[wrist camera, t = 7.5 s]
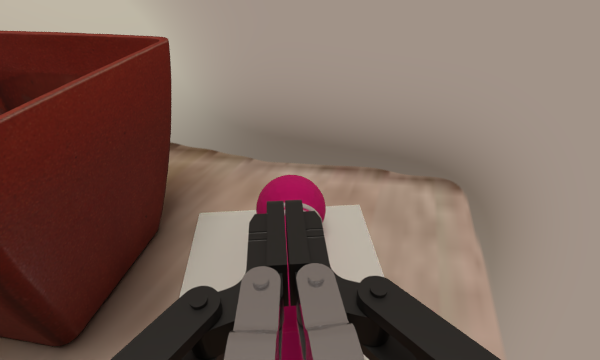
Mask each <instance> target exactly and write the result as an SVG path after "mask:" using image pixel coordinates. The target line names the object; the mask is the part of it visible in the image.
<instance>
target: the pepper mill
mask: <svg viewBox="0 0 600 360" xmlns="http://www.w3.org/2000/svg"><path fill="white" fill-rule="evenodd" d="M285 200H302V204H303V211H315V212H316V213H317V214H318V216H319V217H320V218H321V221H322V226H323V221H324V218H325V213H326V206H325V201H324V198H323V195H322V193H321V191H320V190H319V189H318V187H317V186H316V185H315V184H314V183H313V182H311V181H310V180H308V179H306V178H304V177H302V176H298V175H285V176H281V177H278V178H276V179H274V180H272V181H271V182H270V183H268V184H267V185H266V186H265V187H264V189H263V190H262V191H261V193H260V195H259V198H258V202H257V209H256V213H257V214H265V213H267V201H284V216H285ZM323 231H324V229H323ZM285 233H286V217H285ZM286 249H287V241H286ZM287 266H288V257H287ZM288 296H289V306H285V307H284V323H283V339H282V360H302V354H301V347H300V341H299V335H298V329H297V312H296V306H291V304H290V289H289V273H288Z"/></svg>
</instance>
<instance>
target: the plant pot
mask: <svg viewBox="0 0 600 360" xmlns="http://www.w3.org/2000/svg"><path fill="white" fill-rule="evenodd" d="M170 135H171V66H170V51H169V41H168V39H167V38H165V37H153V36H134V35H113V34H86V33H61V32H26V31H0V336H2V337H7V338H12V339H18V340H23V341H29V342H35V343H40V344H45V345H50V346H61V345H64V344H68V343H69V342H71V341H72V340H74V339H75V338H76V337H77V336H78V335H79V334H80V332H81V331H82V330H83V329H84V327H85V326H86V325H87V323H88V322H89V321H90V319H91V318H92V317H93V315H94V314H95V313H96V311H97V310H98V309H99V308H100V306H101V305H102V304H103V302H104V301H105V300H106V298H107V297H108V296H109V294H110V293H111V292H112V290H113V289H114V288H115V286H116V285H117V284H118V282H119V281H120V280H121V279H122V277H123V276H124V275H125V273H126V272H127V271H128V269H129V268H130V266H131V265H132V264H133V263H134V261H135V260H136V259H137V257H138V256H139V254H140V253H141V252H142V251H143V249H144V248H145V247H146V245H147V244H148V243H149V241H150V240H151V239H152V237H153V236H154V235H155V233H156V232H157V231H158V228H159V224H160V219H161V215H162V210H163V203H164V196H165V189H166V181H167V173H168V163H169V151H170Z"/></svg>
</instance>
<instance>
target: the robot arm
mask: <svg viewBox="0 0 600 360" xmlns="http://www.w3.org/2000/svg"><path fill="white" fill-rule="evenodd" d="M285 217H286V233H285ZM286 241H287V249H286ZM287 257H288V266H287ZM288 273H289V289H290V304H291V306H296V312H297V329H298V335H299V341H300V347H301V354H302V360H365V359H364V356H363V354H364V355H365V356H366V357H367V358H368V359H369V360H500V359H499V358H498V357H496V356H495V355H493V354H492V353H491V352H489V351H488V350H486V349H485V348H484V347H482V346H481V345H479V344H478V343H477V342H475V341H474V340H472V339H471V338H470V337H468V336H467V335H465V334H464V333H463V332H461V331H460V330H458V329H457V328H456V327H454V326H453V325H451V324H450V323H449V322H447V321H446V320H444V319H443V318H442V317H440V316H439V315H437V314H436V313H435V312H433V311H432V310H431V309H429V308H428V307H426V306H425V305H424V304H422V303H421V302H419V301H418V300H417V299H415V298H414V297H412V296H411V295H410V294H408V293H407V292H405V291H404V290H403V289H401V288H400V287H398V286H397V285H396V284H394V283H393V282H391V281H390V280H388V279H387V278H384V277H381V276H369V277H366V278H364V279H363V280H362V281H361V282H360V283H359V282H354V281H350V280H346V279H343V278H341V277H340V276H338V275H337V274H336V273H335V272H334V271H333V270H332V268H331V266H330V263H329V258H328V252H327V247H326V242H325V237H324V231H323V226H322V221H321V218H320V217H319V216H318V214H317V213H316V212H315V211H303V204H302V200H285V216H284V201H267V213H265V214H254V216H253V217H252V219H251V221H250V222H249V234H248V250H247V265H246V273H245V275H244V276H243V278H242V280H241V281H240V282H239V283H237V284H236V285H234V286H232V287H230V288H228V289H225V290H222V291H219V292H217V290H215V289H214V288H212V287H209V286H198V287H194V288H192V289H190V290H188V291H187V292H186V293H185V294H183V295H182V296H181V297H180V298H179V299H178V300H177V301H176V302H174V303H173V304H172V305H171V306H170V307H169V308H168V309H167V310H166V311H164V312H163V313H162V314H161V315H160V316H159V317H158V318H157V319H155V320H154V321H153V322H152V323H151V324H150V325H149V326H148V327H147V328H145V329H144V330H143V331H142V332H141V333H140V334H139V335H138V336H136V337H135V338H134V339H133V340H132V341H131V342H130V343H129V344H128V345H126V346H125V347H124V348H123V349H122V350H121V351H120V352H119V353H117V354H116V355H115V356H114V357H113V358H112V359H111V360H282V339H283V323H284V307H285V306H289V296H288Z"/></svg>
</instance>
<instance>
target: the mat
mask: <svg viewBox="0 0 600 360" xmlns="http://www.w3.org/2000/svg"><path fill="white" fill-rule="evenodd" d="M254 214H257V213H256V210H247V211H228V212H209V213H200V214H199V218H198V222H197V226H196V230H195V234H194V239H193V243H192V247H191V251H190V255H189V259H188V264H187V268H186V272H185V276H184V280H183V284H182V289H181V293H180V297H181V296H182V295H183V294H185V293H186V292H187V291H188V290H190V289H192V288H194V287H198V286H209V287H212V288H214V289H215V290H217V292H219V291H222V290H225V289H228V288H230V287H232V286H234V285H236V284H237V283H239V282H240V281H241V280H242V278H243V276H244V275H245V273H246V265H247V250H248V234H249V222H250V221H251V219H252V217H253V216H254ZM323 229H324V237H325V242H326V247H327V252H328V258H329V263H330V266H331V268H332V270H333V271H334V272H335V273H336V274H337V275H338V276H340V277H341V278H343V279H346V280H350V281H354V282H359V283H360V282H361V281H362V280H363V279H364V278H366V277H369V276H381V277H384V275H383V272H382V269H381V266H380V263H379V260H378V258H377V255H376V252H375V249H374V246H373V243H372V240H371V237H370V234H369V232H368V229H367V226H366V223H365V220H364V217H363V214H362V211H361V208H360V205H344V206H326V213H325V218H324V221H323ZM180 297H179V298H180ZM363 356H364V359H365V360H369V359H368V358H367V357H366V356H365V355H364V354H363Z"/></svg>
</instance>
